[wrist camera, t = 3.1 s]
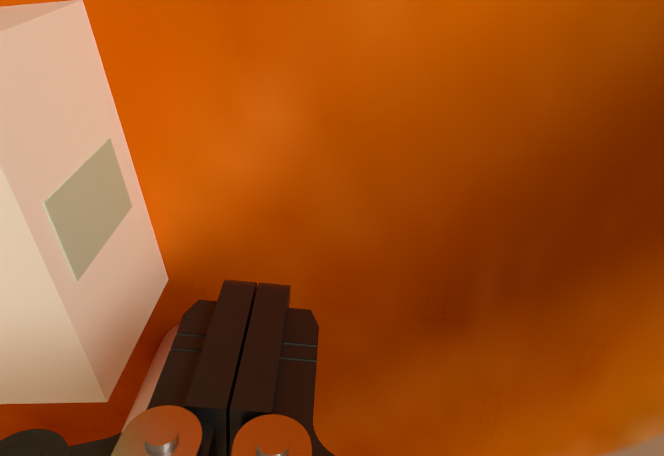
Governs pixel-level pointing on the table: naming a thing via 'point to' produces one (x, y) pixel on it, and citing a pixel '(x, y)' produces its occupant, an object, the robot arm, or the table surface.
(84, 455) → the robot arm
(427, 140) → the table surface
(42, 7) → the carton
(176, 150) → the table surface
